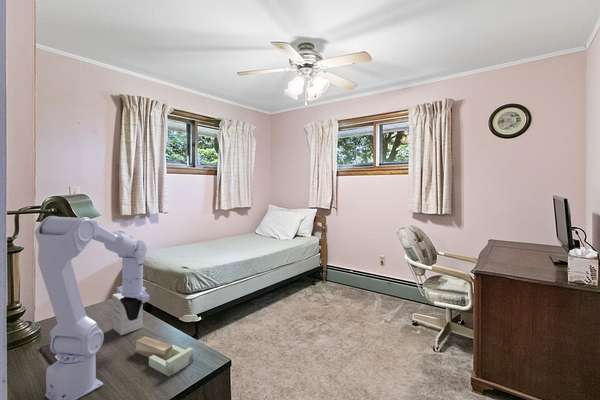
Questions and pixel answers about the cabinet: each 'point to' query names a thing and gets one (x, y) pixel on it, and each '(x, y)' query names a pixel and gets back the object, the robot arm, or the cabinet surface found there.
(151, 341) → the tan wooden block
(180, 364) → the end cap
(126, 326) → the supplement box
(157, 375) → the cabinet surface
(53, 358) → the chocolate bar
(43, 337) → the cabinet surface
